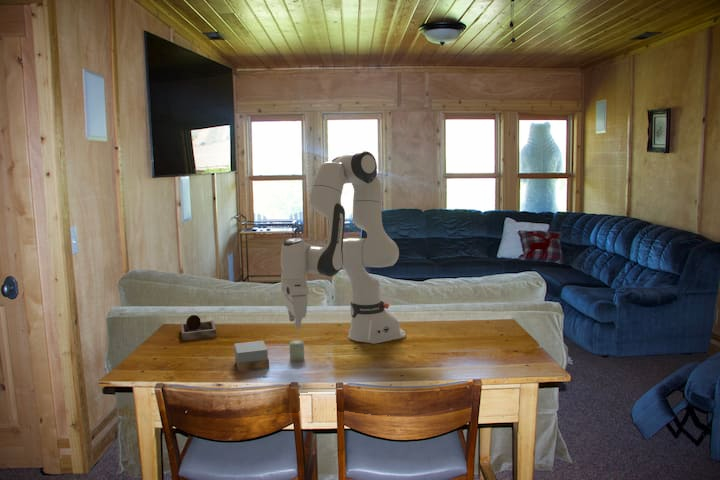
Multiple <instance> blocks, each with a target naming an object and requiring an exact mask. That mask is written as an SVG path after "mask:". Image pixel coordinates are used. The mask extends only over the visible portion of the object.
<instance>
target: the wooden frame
mask: <svg viewBox="0 0 720 480" xmlns="http://www.w3.org/2000/svg"><path fill="white" fill-rule="evenodd" d="M200 322H201V324H200V326H199V328H198V329H204V330H201V331H193V330H190V329H188V327H187V325H186V323H181V324H180V332H181V333H180V334H181V340H182V341H193V340H202V339H209V338H216V337H217V328H216V325H215V321H214V320H206V321H200ZM210 328H211V329H210ZM206 329H207V330H206ZM209 329H210V330H209Z"/></svg>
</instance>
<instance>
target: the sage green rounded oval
mask: <svg viewBox="0 0 720 480" xmlns="http://www.w3.org/2000/svg"><path fill="white" fill-rule="evenodd" d="M289 360H290V362H293V361H294V363H296V362H297V363H298V362H302V361H303V362H304V360H305V343H304V341H303V340H299V339H298V340H292V341H290V342H289Z"/></svg>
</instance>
